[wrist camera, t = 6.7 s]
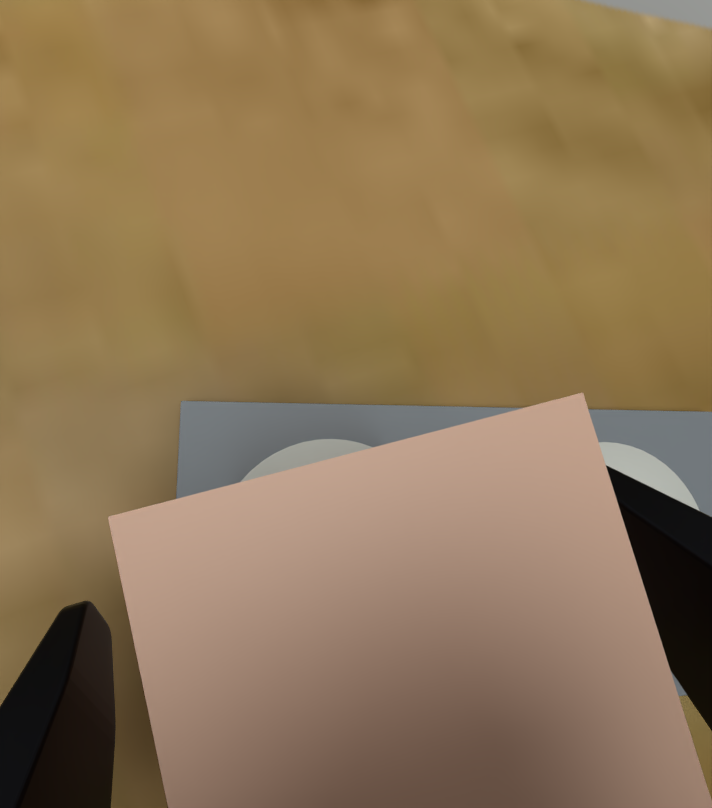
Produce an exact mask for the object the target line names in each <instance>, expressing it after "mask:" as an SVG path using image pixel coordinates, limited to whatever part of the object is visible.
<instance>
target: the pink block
mask: <svg viewBox="0 0 712 808" xmlns="http://www.w3.org/2000/svg"><path fill="white" fill-rule="evenodd" d="M108 520H109V525H110V529H111V534H112V539H113V544H114V549H115V553H116V558H117V563H118V568H119V573H120V578H121V582H122V587H123V592H124V597H125V602H126V607H127V611H128V616H129V621H130V626H131V631H132V636H133V640H134V645H135V650H136V655H137V660H138V664H139V669H140V674H141V679H142V684H143V689H144V693H145V698H146V703H147V708H148V713H149V718H150V722H151V727H152V732H153V737H154V742H155V746H156V751H157V756H158V761H159V766H160V771H161V775H162V780H163V785H164V790H165V795H166V800H167V804H168V808H712V801H711V797H710V794H709V791H708V788H707V785H706V782H705V778H704V775H703V772H702V769H701V766H700V763H699V759H698V756H697V753H696V750H695V747H694V744H693V740H692V737H691V734H690V731H689V728H688V724H687V721H686V718H685V715H684V712H683V709H682V705H681V702H680V699H679V696H678V693H677V690H676V686H675V683H674V680H673V677H672V674H671V671H670V667H669V664H668V661H667V658H666V655H665V651H664V648H663V645H662V642H661V639H660V636H659V632H658V629H657V626H656V623H655V620H654V617H653V613H652V610H651V607H650V604H649V601H648V598H647V594H646V591H645V588H644V585H643V582H642V578H641V575H640V572H639V569H638V566H637V563H636V559H635V556H634V553H633V550H632V547H631V544H630V540H629V537H628V534H627V531H626V528H625V525H624V521H623V518H622V515H621V512H620V509H619V505H618V502H617V499H616V496H615V493H614V490H613V486H612V483H611V480H610V477H609V474H608V471H607V467H606V464H605V461H604V458H603V455H602V452H601V448H600V445H599V442H598V439H597V436H596V433H595V429H594V426H593V423H592V420H591V417H590V413H589V410H588V407H587V404H586V401H585V398H584V394H583V393H579V394H576V395H572V396H568V397H564V398H560V399H556V400H553V401H549V402H545V403H541V404H537V405H533V406H530V407H526V408H522V409H518V410H514V411H511V412H507V413H503V414H499V415H495V416H491V417H488V418H484V419H480V420H476V421H472V422H469V423H465V424H461V425H457V426H453V427H449V428H446V429H442V430H438V431H434V432H430V433H426V434H423V435H419V436H415V437H411V438H407V439H404V440H400V441H396V442H392V443H388V444H384V445H381V446H377V447H373V448H369V449H365V450H362V451H358V452H354V453H350V454H346V455H342V456H339V457H335V458H331V459H327V460H323V461H320V462H316V463H312V464H308V465H304V466H300V467H297V468H293V469H289V470H285V471H281V472H277V473H274V474H270V475H266V476H262V477H258V478H255V479H251V480H247V481H243V482H239V483H235V484H232V485H228V486H224V487H220V488H216V489H213V490H209V491H205V492H201V493H197V494H193V495H190V496H186V497H182V498H178V499H174V500H170V501H167V502H163V503H159V504H155V505H151V506H148V507H144V508H140V509H136V510H132V511H128V512H125V513H121V514H117V515H113V516H109V517H108Z"/></svg>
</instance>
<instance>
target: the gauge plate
mask: <svg viewBox="0 0 712 808" xmlns="http://www.w3.org/2000/svg"><path fill="white" fill-rule="evenodd" d="M518 409H522V408H494V407H446V406H398V405H349V404H301V403H252V402H204V401H181V413H180V433H179V454H178V474H177V494H176V499H178V498H182V497H186V496H190V495H193V494H197V493H201V492H205V491H209V490H213V489H216V488H220V487H224V486H228V485H232V484H235V483H239V482H243V481H247V480H251V479H255V478H258V477H262V476H266V475H270V474H274V473H277V472H281V471H285V470H289V469H293V468H297V467H300V466H304V465H308V464H312V463H316V462H320V461H323V460H327V459H331V458H335V457H339V456H342V455H346V454H350V453H354V452H358V451H362V450H365V449H369V448H373V447H377V446H381V445H384V444H388V443H392V442H396V441H400V440H404V439H407V438H411V437H415V436H419V435H423V434H426V433H430V432H434V431H438V430H442V429H446V428H449V427H453V426H457V425H461V424H465V423H469V422H472V421H476V420H480V419H484V418H488V417H491V416H495V415H499V414H503V413H507V412H511V411H514V410H518ZM588 410H589V413H590V417H591V420H592V423H593V426H594V429H595V433H596V436H597V439H598V442H599V445H600V448H601V452H602V455H603V458H604V461H605V464H606V465H607V466H609V467H611V468H613V469H615V470H617V471H619V472H621V473H623V474H625V475H627V476H629V477H632V478H634V479H636V480H638V481H640V482H642V483H644V484H646V485H648V486H650V487H652V488H654V489H656V490H658V491H660V492H662V493H664V494H666V495H668V496H670V497H672V498H674V499H676V500H678V501H680V502H682V503H684V504H686V505H688V506H690V507H692V508H695V509H697V510H699V511H701V512H703V513H705V514H707V515H709V516H711V517H712V412H688V411H640V410H591V409H588ZM670 671H671V670H670ZM671 674H672V677H673V680H674V683H675V686H676V690H677V693H678V696H683V695H687V694H686V692H685V691H684V689H683V688H682V687H681V685H680V684H679V682H678V681H677V679H676V678H675V676H674V675H673V673H672V672H671Z"/></svg>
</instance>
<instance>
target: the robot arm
mask: <svg viewBox="0 0 712 808" xmlns="http://www.w3.org/2000/svg"><path fill="white" fill-rule="evenodd" d="M606 467H607V471H608V474H609V477H610V480H611V483H612V486H613V490H614V493H615V496H616V499H617V502H618V505H619V509H620V512H621V515H622V518H623V521H624V525H625V528H626V531H627V534H628V537H629V540H630V544H631V547H632V550H633V553H634V556H635V559H636V563H637V566H638V569H639V572H640V575H641V578H642V582H643V585H644V588H645V591H646V594H647V598H648V601H649V604H650V607H651V610H652V613H653V617H654V620H655V623H656V626H657V629H658V632H659V636H660V639H661V642H662V645H663V648H664V651H665V655H666V658H667V661H668V664H669V667H670V670H671V672H672V673H673V675H674V676H675V678H676V679H677V681H678V682H679V684H680V685H681V687H682V688H683V689H684V691H685V692H686V694H687V695H688V697H689V698H690V700H691V701H692V703H693V704H694V706H695V707H696V708H697V710H698V711H699V713H700V714H701V716H702V717H703V719H704V720H705V722H706V723H707V725H708V726H709V728H710V729H711V730H712V517H711V516H709V515H707V514H705V513H703V512H701V511H699V510H697V509H695V508H692V507H690V506H688V505H686V504H684V503H682V502H680V501H678V500H676V499H674V498H672V497H670V496H668V495H666V494H664V493H662V492H660V491H658V490H656V489H654V488H652V487H650V486H648V485H646V484H644V483H642V482H640V481H638V480H636V479H634V478H632V477H629V476H627V475H625V474H623V473H621V472H619V471H617V470H615V469H613V468H611V467H609V466H607V465H606ZM114 748H115V701H114V681H113V660H112V639H111V632H110V628H109V626H108V624H107V623H106V621H105V620H104V618H103V617H102V616H101V614H100V613H99V611H98V610H97V609H96V607H95V606H94V605H93V604H92V602H90V601H83V602H80V603H76V604H73V605H69V606H66V607H64V608H63V609H62V610H61V611H60V612H59V614H58V615H57V617H56V618H55V620H54V622H53V623H52V625H51V626H50V628H49V630H48V631H47V633H46V634H45V636H44V638H43V639H42V641H41V642H40V644H39V645H38V647H37V649H36V650H35V652H34V653H33V655H32V657H31V658H30V660H29V661H28V663H27V665H26V666H25V668H24V669H23V671H22V673H21V674H20V676H19V677H18V679H17V681H16V682H15V684H14V685H13V687H12V688H11V690H10V692H9V693H8V695H7V696H6V698H5V700H4V701H3V703H2V704H1V706H0V808H111V793H112V778H113V763H114Z"/></svg>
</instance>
